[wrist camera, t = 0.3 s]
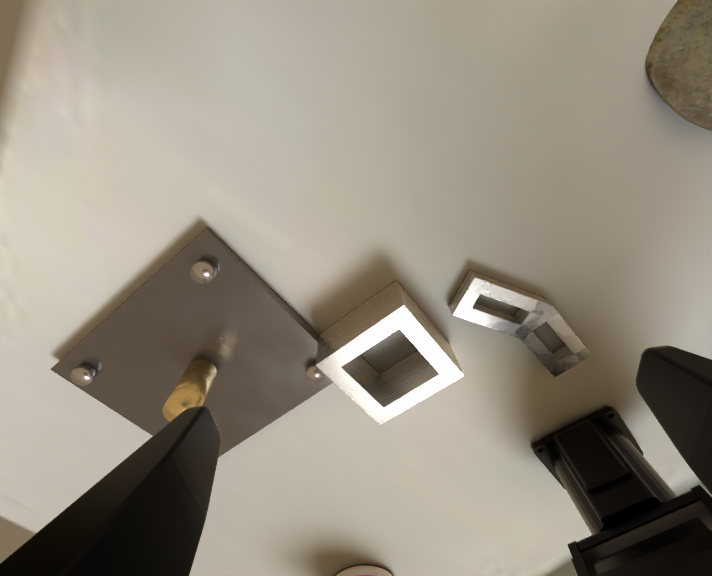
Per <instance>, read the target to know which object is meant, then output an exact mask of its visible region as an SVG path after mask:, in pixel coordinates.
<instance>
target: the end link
mask: <svg viewBox="0 0 712 576" xmlns="http://www.w3.org/2000/svg"><path fill="white" fill-rule="evenodd" d="M398 329H400V330H401V331H402V332H403V333H404V334H405V336H406V337H407V338H408V339H409V340H410V341H411V342H412V343H413V345H414V346H415V347H416V348H417V349H418V350H417V351H416V352H414V353H413V354H411V355H409V356H408V357H406V358H405V359H403V360H402V361H400V362H398V363H397V364H395V365H394V366H392V367H390V368H389V369H387V370H386V371H384V372H383V373H381V374H378V373H377V372H376V371H375V370H374V369H373V368H372V367H371V366H370V365H369V364H368V363H367V362H366V361H365V360H364V359H363V358H362V357H361V356H360V354H362V353H363V352H365V351H366V350H368V349H369V348H371V347H372V346H374V345H375V344H377V343H378V342H380V341H381V340H383V339H384V338H386V337H387V336H389V335H390V334H392V333H393V332H395V331H396V330H398ZM316 366H317V367H318V368H319V369H320V370H321V371H322V372H323V373H324V374H325V375H326V376H327V377H329V378H330V379H331V380H332V381H333V382H334V383H335V384H336V385H337V386H338V387H339V388H341V389H342V390H343V391H344V392H345V393H346V394H347V395H348V396H349V397H350V398H351V399H353V400H354V401H355V402H356V403H357V404H358V405H359V406H360V407H361V408H362V409H363V410H364V411H366V412H367V413H368V414H369V415H370V416H371V417H372V418H373V419H374V420H375V421H376V422H378V423H379V424H380V425H381V424H383V423H384V422H386V421H388V420H390V419H391V418H393V417H395V416H396V415H398V414H400V413H402V412H403V411H405V410H407V409H408V408H410V407H412V406H413V405H415V404H417V403H419V402H420V401H422V400H424V399H425V398H427V397H429V396H431V395H432V394H434V393H436V392H437V391H439V390H441V389H443V388H444V387H446V386H448V385H449V384H451V383H453V382H454V381H456V380H458V379H460V378H461V377H463V376H464V375H463V372H462V370H461V368H460V366H459V363H458V361H457V359H456V357H455V354H454V352H453V350H452V348H451V345H450V344H449V343H448V342H447V340H446V339H445V338H444V337H443V336H442V334H441V333H440V332H439V331H438V330H437V328H436V327H435V326H434V325H433V324H432V322H431V321H430V320H429V319H428V318H427V316H426V315H425V314H424V313H423V312H422V310H421V309H420V308H419V307H418V306H417V304H416V303H415V302H414V301H413V300H412V298H411V297H410V296H409V295H408V294H407V292H406V291H405V290H404V289H403V288H402V286H401V285H400V284H399V283H398V282H397V280H396V281H394V282H393V283H391V284H390V285H389V286H387V287H386V288H384V289H383V290H382V291H380V292H379V293H377V294H376V295H374V296H373V297H372V298H370V299H369V300H367V301H366V302H365V303H363V304H362V305H360V306H359V307H357V308H356V309H355V310H353V311H352V312H350V313H349V314H348V315H346V316H345V317H343V318H342V319H340V320H339V321H338V322H336V323H335V324H333V325H332V326H331V327H329V328H328V329H326V330H325V331H323V332H322V333H321V334H319V338H318V347H317V356H316Z"/></svg>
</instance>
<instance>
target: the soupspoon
mask: <svg viewBox="0 0 712 576" xmlns="http://www.w3.org/2000/svg"><path fill="white" fill-rule="evenodd" d="M646 68H647V71H648V73H649V75H650V78H651V81H652V83H653V85H654V87H655V89H656V90H657V91H658V94H660V96H661V97H662V98H663V99H664V101H665V102H666V103H667V104H668V105H669V106H670V107H671V108H672V109H673V110H674V111H676V113H678V114H679V115H680V116H682V117H683V118H685V119H686V120H688V121H689V122H691V123H693V124H695V125H697V126H700V127H702V128H705V129H708V130H710V131H712V0H678V1H677V3H676V4H675V6H674V7H673V8H672V9H671V11H670V12H669V14H668V15H667V17H666V18H665V20H664V21H663V23H662V25H661V26H660V28H659V30H658V32H657V33H656V35H655V37H654V40H653V42H652V44H651V46H650V49H649V52H648V54H647V58H646Z"/></svg>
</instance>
